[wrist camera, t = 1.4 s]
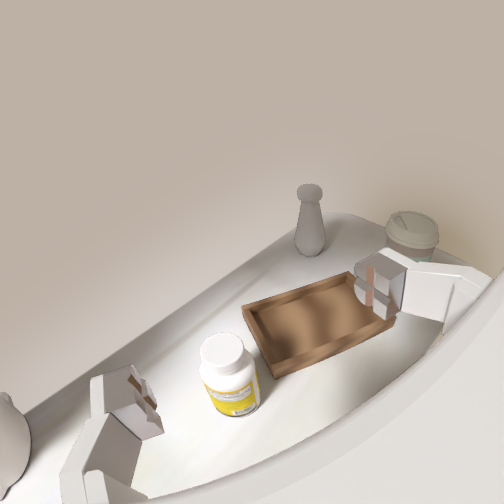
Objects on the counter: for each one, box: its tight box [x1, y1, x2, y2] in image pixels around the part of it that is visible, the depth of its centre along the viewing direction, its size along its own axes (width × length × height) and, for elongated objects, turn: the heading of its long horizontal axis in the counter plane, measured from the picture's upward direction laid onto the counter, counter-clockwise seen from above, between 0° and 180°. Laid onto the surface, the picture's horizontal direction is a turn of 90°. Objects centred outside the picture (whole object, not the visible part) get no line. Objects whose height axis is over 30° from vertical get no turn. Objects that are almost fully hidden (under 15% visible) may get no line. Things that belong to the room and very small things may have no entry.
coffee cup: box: [385, 211, 439, 263], centre depth 39 cm, size 9×8×12 cm
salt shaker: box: [294, 184, 326, 257], centre depth 51 cm, size 6×6×13 cm
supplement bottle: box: [200, 332, 261, 419], centre depth 27 cm, size 5×5×10 cm
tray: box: [241, 271, 396, 379], centre depth 38 cm, size 18×12×2 cm, turn 110°
